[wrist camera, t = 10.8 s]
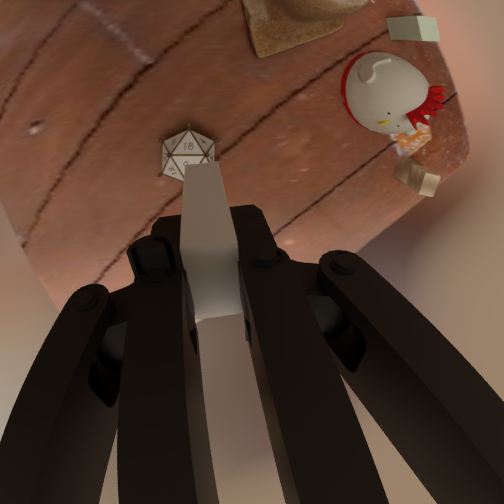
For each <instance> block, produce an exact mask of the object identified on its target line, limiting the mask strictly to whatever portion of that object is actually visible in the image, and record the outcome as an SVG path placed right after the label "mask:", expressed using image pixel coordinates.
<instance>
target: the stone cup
mask: <svg viewBox="0 0 504 504" xmlns="http://www.w3.org/2000/svg"><path fill="white" fill-rule="evenodd" d="M369 1H370V0H242V3H243V5H244V8H245V16H246V20H247V25H248V27H249V30H250V39H251V41H252V44H253V47H254V49H255V51H256V55H257V56H258V57H259V58H263V57H266V56H269V55H272V54H275V53H278V52H281V51H284V50H287V49H289V48H292V47H295V46H296V45H300V44H303V43H306V42H309V41H312V40H315V39H317V38H320V37H323V36H326V35H328V34H331V33H333V32H335V31H337V30H339V29H340V28H341V27H343V25H344V17H345V16H347V15H350V14H352V13H354V12H356V11H358V10H360V9H362V8H363V7H364V6H365V5H366V4H367V3H368V2H369Z"/></svg>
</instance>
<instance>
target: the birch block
mask: <svg viewBox="0 0 504 504" xmlns="http://www.w3.org/2000/svg"><path fill="white" fill-rule="evenodd" d="M393 175H394V176H395V177H396V178H398V179H399V180H400V181H402V182H403V183H405V184H406V185H407V186H409V187H410V188H411V189H412V190H414V191H415V192H416V193H418V194H421V195H426V196H431V197H433V195H434V193H435V191H436V188H437V185H438V182H439V179H440V177H441V176H439V175H437V174H436V173H434V172H433V171H431V170H430V169H428V168H427V167H425V166H423V165H422V164H420V163H419V162H417V161H415V160H414V159H410V158H406V157H403V156H399V157H398V161H397V164H396V167H395V170H394V174H393Z"/></svg>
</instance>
